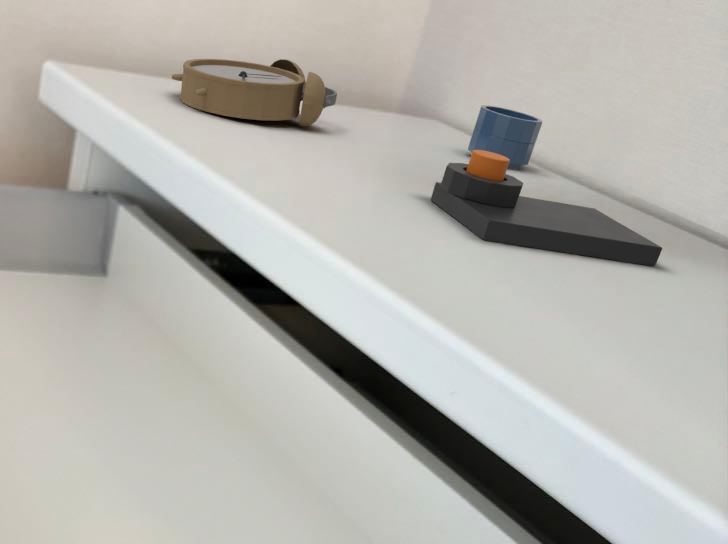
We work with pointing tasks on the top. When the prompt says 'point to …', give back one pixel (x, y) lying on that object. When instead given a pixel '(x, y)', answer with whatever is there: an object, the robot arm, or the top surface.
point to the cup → (505, 134)
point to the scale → (536, 219)
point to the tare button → (488, 165)
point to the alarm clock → (254, 90)
